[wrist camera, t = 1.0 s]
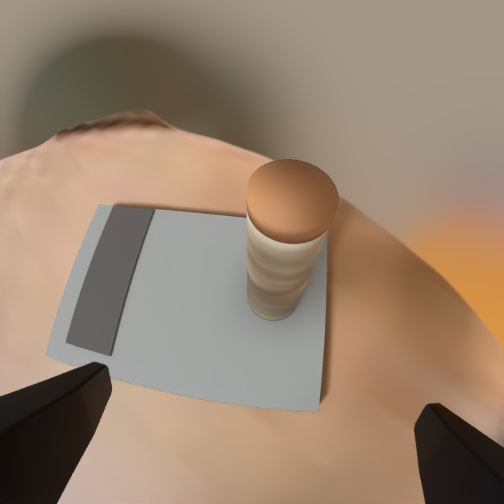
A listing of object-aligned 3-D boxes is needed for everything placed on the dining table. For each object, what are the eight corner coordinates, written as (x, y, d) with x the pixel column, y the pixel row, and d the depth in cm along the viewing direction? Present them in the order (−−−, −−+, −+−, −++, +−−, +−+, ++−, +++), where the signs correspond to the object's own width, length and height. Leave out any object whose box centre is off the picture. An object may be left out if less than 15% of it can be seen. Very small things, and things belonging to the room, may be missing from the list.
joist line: (110, 356, 19) (109, 355, 19) (66, 343, 19) (65, 342, 19) (154, 210, 25) (153, 208, 25) (114, 207, 25) (113, 205, 25)
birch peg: (263, 330, 20) (279, 245, 11) (237, 287, 22) (230, 177, 12) (308, 304, 21) (356, 206, 12) (281, 264, 23) (303, 149, 13)
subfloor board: (323, 237, 26) (327, 227, 24) (313, 412, 19) (318, 412, 17) (104, 214, 27) (98, 204, 25) (55, 359, 20) (45, 355, 18)
